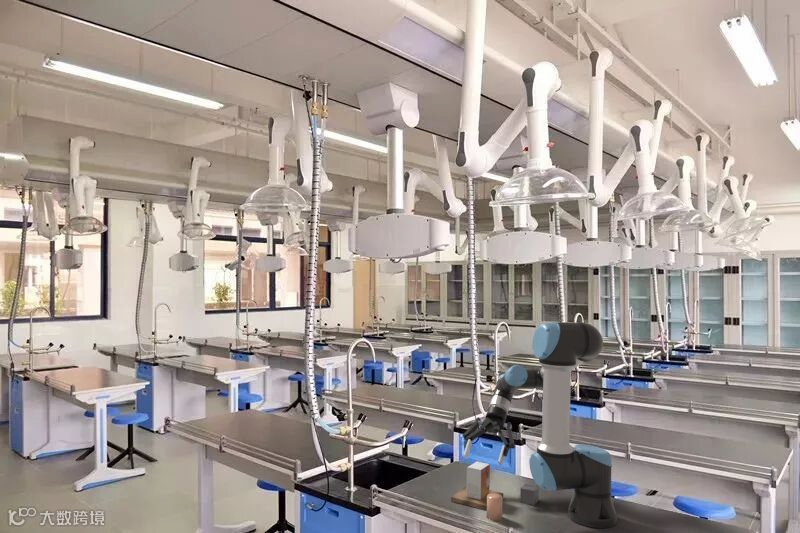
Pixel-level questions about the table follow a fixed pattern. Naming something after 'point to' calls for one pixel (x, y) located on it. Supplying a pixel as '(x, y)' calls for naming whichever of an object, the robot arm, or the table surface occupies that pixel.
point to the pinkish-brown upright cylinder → (494, 507)
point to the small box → (478, 480)
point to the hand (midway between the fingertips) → (482, 460)
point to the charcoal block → (529, 494)
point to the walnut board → (471, 499)
